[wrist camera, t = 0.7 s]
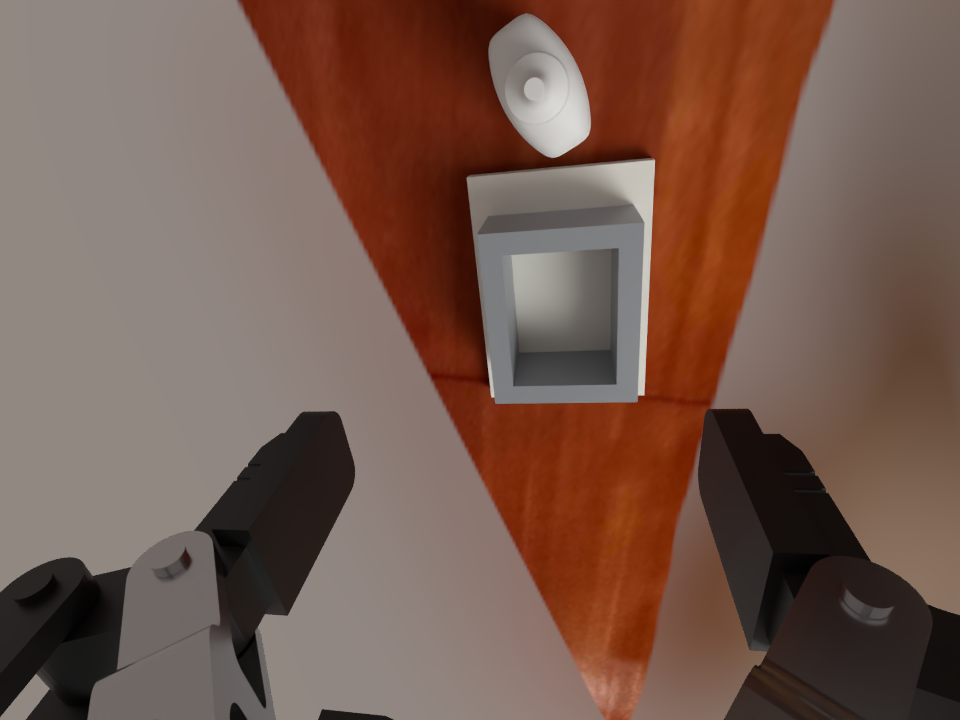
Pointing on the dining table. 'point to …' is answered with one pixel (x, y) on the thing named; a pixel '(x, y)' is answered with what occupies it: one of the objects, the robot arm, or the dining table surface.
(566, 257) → the socket
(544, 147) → the eye dropper bottle
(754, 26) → the dining table surface
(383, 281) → the dining table surface
